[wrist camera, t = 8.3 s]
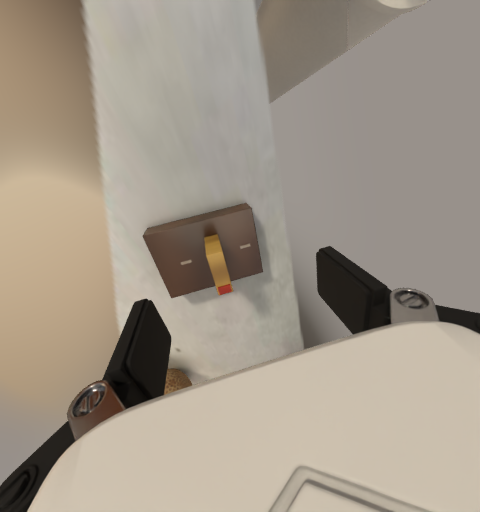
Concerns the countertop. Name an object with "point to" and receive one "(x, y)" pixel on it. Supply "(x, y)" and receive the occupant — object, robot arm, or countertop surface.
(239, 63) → the countertop surface
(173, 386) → the natural sponge
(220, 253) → the thumbturn
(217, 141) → the countertop surface
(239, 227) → the plate
